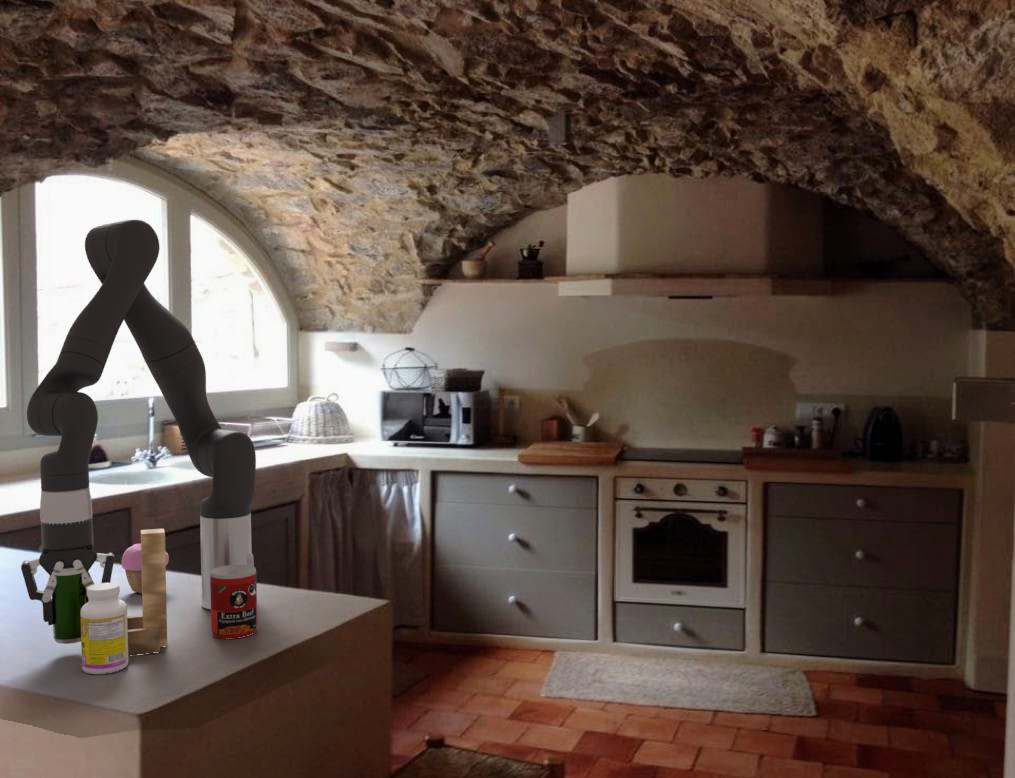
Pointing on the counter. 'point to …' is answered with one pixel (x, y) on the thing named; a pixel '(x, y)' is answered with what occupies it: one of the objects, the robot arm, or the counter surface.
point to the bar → (154, 581)
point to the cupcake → (135, 566)
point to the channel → (141, 637)
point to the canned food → (233, 601)
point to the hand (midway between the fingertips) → (71, 621)
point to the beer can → (68, 605)
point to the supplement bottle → (104, 630)
